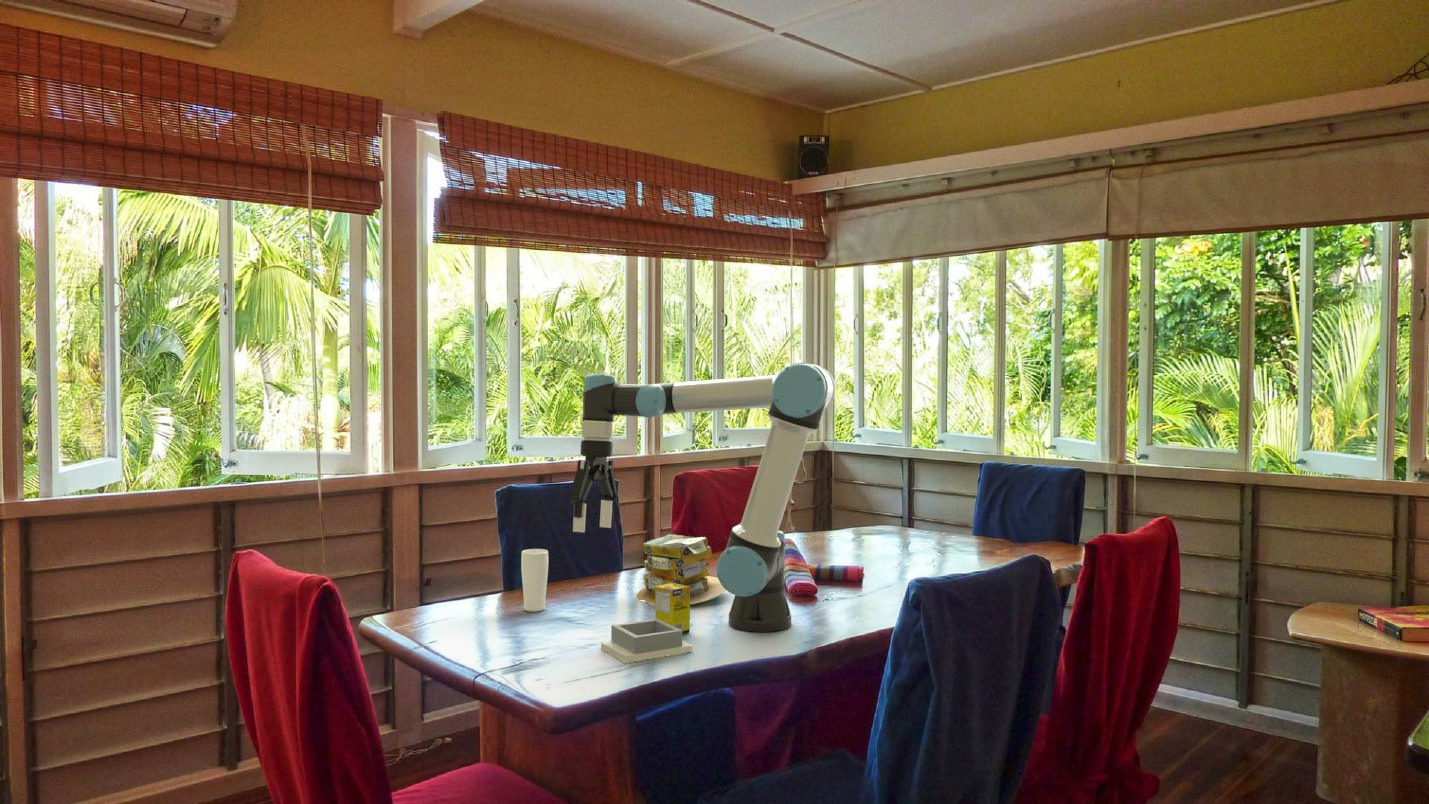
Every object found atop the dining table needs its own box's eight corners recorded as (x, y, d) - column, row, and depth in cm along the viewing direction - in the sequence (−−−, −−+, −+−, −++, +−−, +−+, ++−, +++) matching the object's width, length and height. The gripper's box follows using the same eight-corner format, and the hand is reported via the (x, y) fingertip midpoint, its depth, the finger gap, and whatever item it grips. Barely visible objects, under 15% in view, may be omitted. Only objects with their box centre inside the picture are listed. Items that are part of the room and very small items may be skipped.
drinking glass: (553, 609, 243) (553, 551, 242) (531, 614, 238) (531, 554, 237) (537, 605, 247) (537, 547, 247) (515, 609, 242) (515, 551, 242)
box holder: (665, 638, 217) (665, 617, 217) (692, 652, 207) (692, 629, 207) (601, 649, 209) (601, 626, 208) (625, 663, 198) (625, 639, 198)
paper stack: (663, 612, 241) (664, 547, 241) (620, 592, 262) (621, 532, 262) (745, 601, 254) (745, 539, 254) (698, 583, 275) (698, 525, 275)
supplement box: (690, 632, 222) (690, 586, 222) (671, 637, 218) (671, 590, 218) (673, 627, 227) (673, 582, 226) (654, 632, 222) (654, 585, 222)
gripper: (606, 439, 239) (602, 524, 238) (557, 438, 216) (552, 532, 215) (633, 440, 236) (629, 526, 236) (586, 439, 213) (581, 535, 212)
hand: (592, 529), depth 225 cm, fingers open, 13 cm apart
